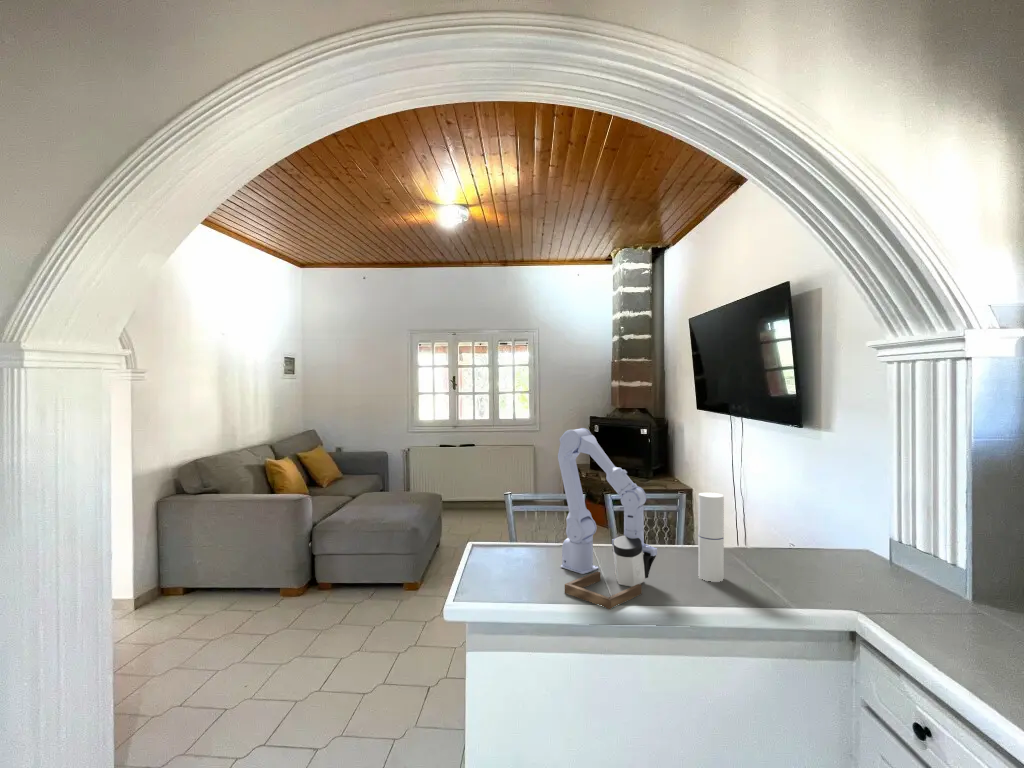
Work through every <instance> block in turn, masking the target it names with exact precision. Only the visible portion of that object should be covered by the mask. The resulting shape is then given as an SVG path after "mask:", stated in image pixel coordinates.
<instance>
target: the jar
mask: <svg viewBox="0 0 1024 768" xmlns="http://www.w3.org/2000/svg"><path fill="white" fill-rule="evenodd" d="M615 538H616V539H615ZM615 538H614V539H615V540H614V541H613V548H612V549H613V550H612V553H613V563H614V564H613V565H614V576H615V578H616V581H617V584H618V585H622V586H626V587H632V586H635V585H637V584H640V585H641V584H642V583H644V582H646V579H645V571H644V559H643V554H644V553H643V551H642V542H641V540H640V539H639V538H628V537H626V536H625V535H624V534H623V535H619V536H618V537H615Z"/></svg>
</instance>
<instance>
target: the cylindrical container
mask: <svg viewBox="0 0 1024 768" xmlns="http://www.w3.org/2000/svg"><path fill="white" fill-rule="evenodd" d="M724 501H725V497H724V494H722V493H718V492H711V491H710V492H699V493H698V515H697V516H698V522H697V523H698V548H697V549H698V551H697V552H698V554H697V555H698V557H697V558H698V569H697V570H698V576H699V577H698V579H699V580H702V579H703V580H702V581H704V580H705V582H708V581H711V582H710V583H721V582H723V581H724V580H723V579H724V578H725V577H724V576H725V575H724V574H725V573H724V568H725V566H724V565H725V564H724V563H725V561H724V559H725V558H724V556H725V554H724V552H725V550H724V549H725V548H724V547H725V544H724V543H725V539H724V538H725V537H724V536H725V535H724V534H725V533H724V531H725V530H724V529H725V527H724V525H725V523H724V522H725V521H724V520H725V509H724V508H725V507H724V506H725V502H724ZM720 581H721V582H720Z"/></svg>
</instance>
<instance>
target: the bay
mask: <svg viewBox="0 0 1024 768" xmlns="http://www.w3.org/2000/svg"><path fill="white" fill-rule="evenodd" d="M600 581H602V580H601V571H598V570H596V571H595V572H592V573H589V574H585V575H584V576H582V577H579V578H576V579H574V580H572V581H569V582H567V583H564V594H566V595H569V596H572V597H574V596H575V598H577V599H579V600H583V601H585V600H586V602H588V601H589V602H588V603H591V602H592V603H591V604H594V603H595V604H594V605H596V604H599V605H602V606H604V607H606V608H605V609H607V610H611V608H612V607H614V606H616V605H618V604H620V605H622V604H623V602H624V603H626V602H628V601H630V600H632V599H634V597H635V598H636V596H637V597H638V595H639V596H641V595H642V594H643V593H642V591H643V589H642V588H643V587H642V584H641V583H640V584H637V585H635V586H632V587H631V586H629V588H627V589H623V590H622V591H619V592H617V593H615V594H612V595H611V596H606V595H603V594H601V593H598V592H594V591H592V590H589V589H586V587H589V586H591V585H593V584H596V583H598V582H600ZM640 594H641V595H640ZM627 600H628V601H627ZM625 601H626V602H625ZM621 603H622V604H621ZM599 605H598V606H599ZM602 606H601V607H602ZM618 606H619V605H618ZM604 607H603V608H604ZM616 607H617V606H616ZM614 608H615V607H614ZM612 609H613V608H612Z"/></svg>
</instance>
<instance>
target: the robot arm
mask: <svg viewBox="0 0 1024 768" xmlns="http://www.w3.org/2000/svg"><path fill="white" fill-rule="evenodd" d="M559 443H560V444H559V448H558V453H557V461H558V465H559V469H560V475H561V479H562V484H563V489H564V494H565V498H566V499H565V500H566V503H567V507H568V508H567V509H568V514H567V517H566V520H565V521H566V528H565V534H566V537H567V538H566V539H564V541H563V542H562V544H561V545H562V546H561V565H560V568H563V569H566V570H568V571H571V572H575V573H578V574H581V575H587V574H588V573H590V572H593V571H597V570H599V569H600V567H599V566H597V565H594V548H593V547H594V539H593V538H594V537H593V536H594V535H595V534H596V532H597V523H596V521H595V520H594V519H593V517H592V513H591V512H590V510H589V509H587V505H586V502H585V497H584V494H583V493H584V492H583V488H582V483H581V480H580V479H581V478H580V473H579V469H578V464H577V458H578V456H579V455H580V454H587V455H589V457H591V458H592V459H593V461H594V462H596V464H597V465H598V466H599V467H600V468H601V469H602V470H603V472H604V473H605V474H606V475H605V476H606V477H605V478H606V479H605V480H606V481H607V482H608V484H609V485H610V486H611V487H612V488H613V490H614V491H615V492H616V494H617V495H618V496H619V497H620V503H621V505H622V507H623V535H625V536H626V537H628V538H639V539H640V540H641V542H642V551H643V559H644V571H645V580H646V579H647V578H649V575H650V574H649V573H650V570H651V567H652V565H653V563H654V561H655V559H656V557H657V556H658V548H657V547H654V546H652V545H650V544H647V543H644V542H645V538H644V536H645V527H644V526H645V522H644V521H645V520H644V519H645V518H644V517H645V515H644V509H645V508H644V505H645V503H646V501H647V493H646V492H645V490H644V488H642V487H641V486H638V485H637V483H636V482H635V483H634V482H633V480H632V479H631V478H630V477H629V475H628V471H627V470H626V469H622V467H617V466H616V465H615V464H614V463H613V462H612V461H611V459H610V458H609V456H608V455H607V454H606V453H605V451H604V449H603V447H601V445H600V444H599V443H598V441H597V438H596V437H595V435H593V434H592V432H591V431H590V430H589V429H588V428H585V427H580V428H576V429H568V430H565V431H564V433H563V434H562V435H561V436H560V437H559ZM616 538H617V537H615V538H612V539H611V547H612V546H613V541H614V540H615V539H616ZM612 551H613V548H612Z"/></svg>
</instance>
